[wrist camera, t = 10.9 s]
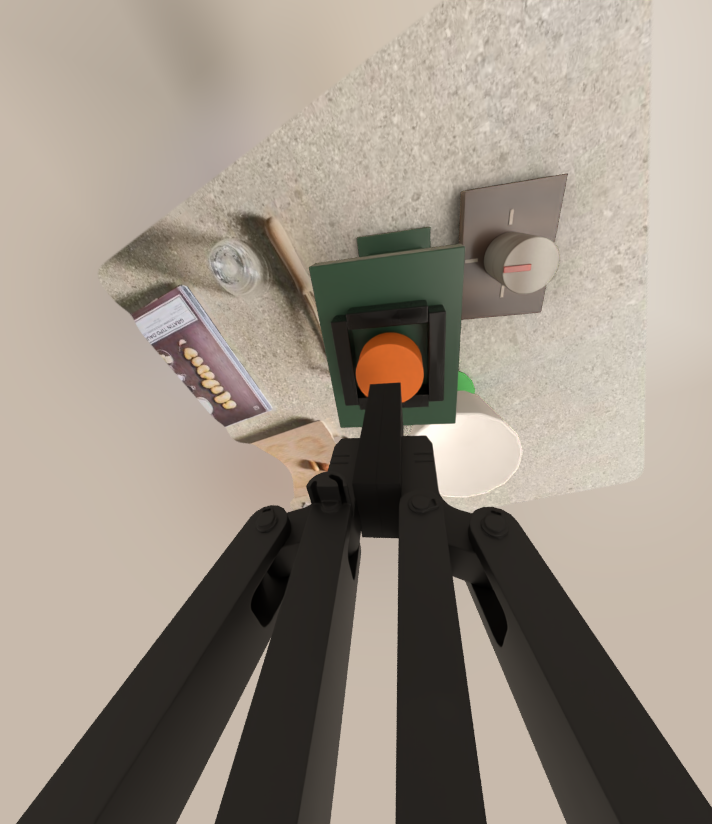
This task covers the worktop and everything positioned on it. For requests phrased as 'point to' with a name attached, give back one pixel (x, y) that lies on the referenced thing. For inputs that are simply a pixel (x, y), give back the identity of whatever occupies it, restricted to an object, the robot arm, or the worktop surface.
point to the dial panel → (497, 214)
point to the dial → (522, 261)
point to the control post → (394, 318)
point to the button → (391, 364)
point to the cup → (472, 446)
